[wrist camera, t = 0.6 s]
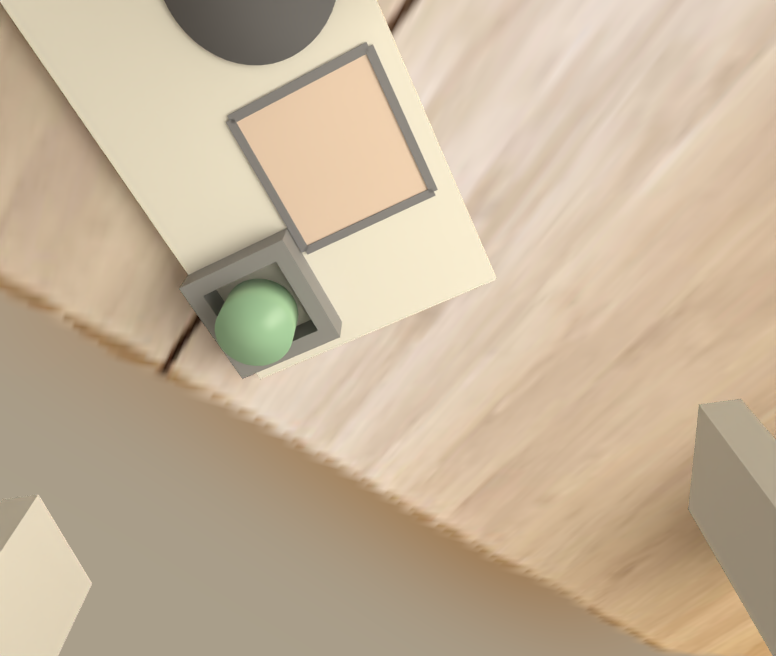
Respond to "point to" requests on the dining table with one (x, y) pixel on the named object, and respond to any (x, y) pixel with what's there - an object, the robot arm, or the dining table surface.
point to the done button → (257, 322)
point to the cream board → (271, 163)
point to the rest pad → (252, 26)
